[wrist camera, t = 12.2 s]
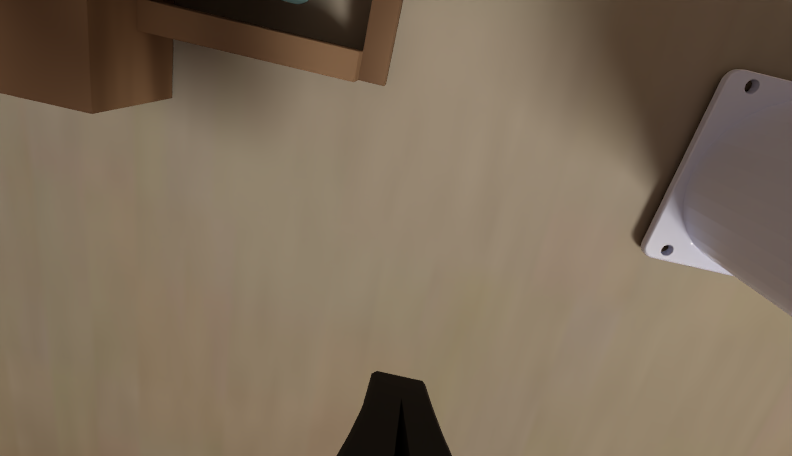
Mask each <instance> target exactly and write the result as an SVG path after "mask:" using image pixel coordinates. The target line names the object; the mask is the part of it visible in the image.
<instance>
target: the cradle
mask: <svg viewBox="0 0 792 456" xmlns="http://www.w3.org/2000/svg"><path fill="white" fill-rule="evenodd" d="M402 3H403V0H372V4H371V10H370V15H369V21H368V27H367V32H366V38H365V43H364V49H363V51H362V50H358V49H354V48H350V47H346V46H342V45H338V44H333V43H329V42H325V41H321V40H317V39H313V38H309V37H304V36H300V35H296V34H292V33H288V32H284V31H280V30H275V29H271V28H267V27H263V26H259V25H255V24H251V23H246V22H242V21H238V20H234V19H230V18H226V17H222V16H217V15H213V14H209V13H205V12H201V11H197V10H193V9H188V8H184V7H180V6H176V5H174V0H0V93H3V94H7V95H11V96H16V97H20V98H25V99H29V100H33V101H38V102H42V103H47V104H51V105H55V106H60V107H64V108H69V109H73V110H77V111H82V112H86V113H91V114H94V113H99V112H104V111H109V110H114V109H119V108H124V107H129V106H134V105H139V104H144V103H149V102H154V101H159V100H164V99H169V98H172V74H173V39H175V40H179V41H183V42H188V43H192V44H196V45H200V46H204V47H209V48H213V49H217V50H221V51H225V52H230V53H234V54H238V55H242V56H246V57H251V58H255V59H259V60H263V61H268V62H272V63H276V64H280V65H284V66H289V67H293V68H297V69H301V70H305V71H310V72H314V73H318V74H322V75H326V76H331V77H335V78H339V79H343V80H347V81H352V82H355V81H357V80H361V81H365V82H369V83H373V84H378V85H382V86H385V84H386V81H387V76H388V71H389V67H390V62H391V57H392V52H393V47H394V42H395V37H396V32H397V27H398V23H399V18H400V13H401V8H402Z"/></svg>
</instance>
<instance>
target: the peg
mask: <svg viewBox="0 0 792 456" xmlns="http://www.w3.org/2000/svg"><path fill="white" fill-rule="evenodd" d="M283 1H286V2H289V3H293V4H301V3H304V2H307V1H308V0H283Z"/></svg>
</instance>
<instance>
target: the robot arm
mask: <svg viewBox="0 0 792 456" xmlns="http://www.w3.org/2000/svg"><path fill="white" fill-rule="evenodd" d="M750 80H751V81H752V86H751V88H750V90H749V91H747V92H745V85H746V84H747V82H748V81H750ZM666 245H669V246H668V249H667V250H666V251H663V252H661V249H662V248H663V247H664V246H666ZM641 250H642V251H643V252H644V253H645V254H646V255H647V256H649V257H651V258H656V259H660V260H665V261H669V262H674V263H678V264H683V265H687V266H691V267H696V268H700V269H705V270H709V271H714V272H718V273H723V274H727V275H731V276H735V277H737V278H738V279H739V280H741V281H742V282H744V283H745V284H746V285H748V286H749V287H751V288H752V289H754V290H755V291H756V292H758V293H759V294H761V295H762V296H763V297H765V298H766V299H768V300H769V301H771V302H772V303H773V304H775V305H776V306H778V307H779V308H780V309H782V310H783V311H785V312H786V313H788V314H789V315H790V316H792V81H789V80H785V79H781V78H777V77H773V76H769V75H765V74H761V73H757V72H753V71H749V70H744V69H734V70H731V71H729V72H728V73H726V74H725V75H724V76H723V78H722V79H721V81H720V83H719V85H718V87H717V89H716V91H715V93H714V95H713V97H712V99H711V101H710V104H709V106H708V108H707V110H706V112H705V114H704V116H703V118H702V120H701V122H700V124H699V126H698V128H697V130H696V132H695V134H694V136H693V138H692V140H691V142H690V144H689V146H688V149H687V151H686V153H685V155H684V157H683V159H682V161H681V163H680V165H679V167H678V169H677V171H676V173H675V175H674V177H673V179H672V181H671V183H670V185H669V187H668V189H667V192H666V194H665V196H664V198H663V200H662V202H661V204H660V206H659V208H658V210H657V212H656V214H655V216H654V218H653V220H652V222H651V224H650V226H649V228H648V230H647V232H646V234H645V237H644V239H643V241H642V243H641ZM337 456H452V455H451V453H450V450H449V448H448V446H447V443H446V441H445V439H444V436H443V434H442V431H441V429H440V426H439V424H438V421H437V418H436V416H435V413H434V410H433V407H432V404H431V402H430V399H429V395H428V392H427V389H426V386H425V384H424V382H423V381H420V380H415V379H411V378H406V377H402V376H397V375H392V374H388V373H383V372H379V371H376V372H374V373H372V374H371V378H370V382H369V385H368V389H367V392H366V396H365V399H364V403H363V406H362V408H361V411H360V413H359V415H358V417H357V419H356V421H355V423H354V425H353V427H352V429H351V431H350V433H349V435H348V437H347V439H346V440H345V442H344V444H343V446H342V447H341V449H340V451H339V453H338V454H337Z"/></svg>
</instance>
